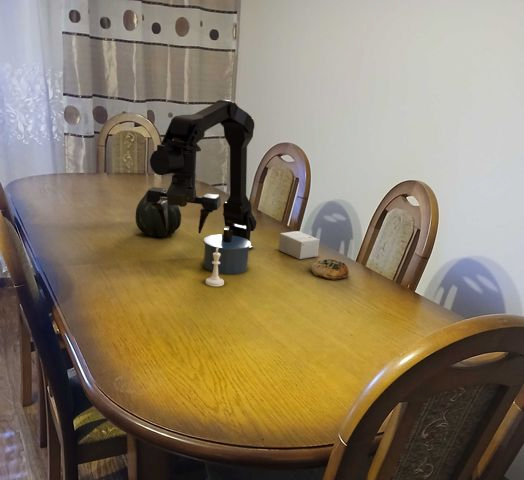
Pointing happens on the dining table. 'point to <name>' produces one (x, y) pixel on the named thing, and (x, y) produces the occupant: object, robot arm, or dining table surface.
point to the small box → (298, 244)
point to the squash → (156, 219)
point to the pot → (227, 260)
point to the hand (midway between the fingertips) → (182, 231)
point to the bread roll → (330, 269)
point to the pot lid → (227, 241)
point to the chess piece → (215, 272)
